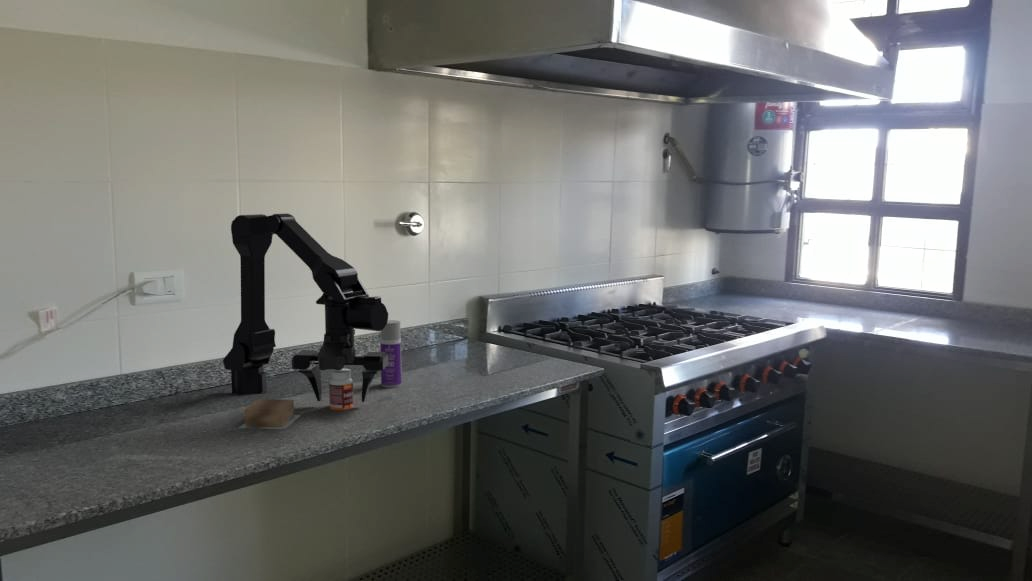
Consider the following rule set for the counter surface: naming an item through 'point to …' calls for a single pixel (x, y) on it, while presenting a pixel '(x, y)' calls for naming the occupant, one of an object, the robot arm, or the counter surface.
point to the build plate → (273, 427)
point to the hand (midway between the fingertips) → (341, 401)
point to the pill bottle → (341, 390)
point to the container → (391, 354)
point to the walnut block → (269, 413)
